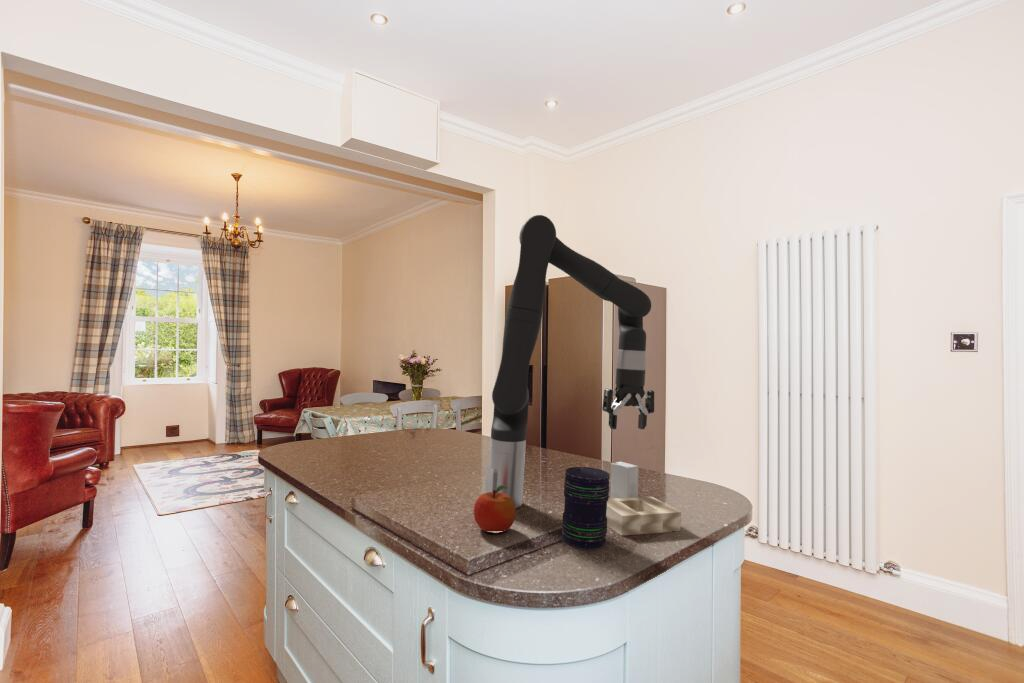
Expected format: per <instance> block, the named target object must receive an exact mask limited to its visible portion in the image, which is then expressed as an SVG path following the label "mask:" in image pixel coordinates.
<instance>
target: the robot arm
mask: <svg viewBox="0 0 1024 683" xmlns="http://www.w3.org/2000/svg"><path fill="white" fill-rule="evenodd" d="M518 239H519V244H520V249H519V258H518V259H519V262H518V267H517V272H516V275H515V279H514V281H513V285H512V287H511V292H510V294H509V297H508V298H509V300H508V302H507V307H506V314H505V319H504V320H505V321H504V327H503V328H504V329H503V339H502V352H501V358H500V364H499V368H498V372H497V376H496V378H495V383H494V387H493V389H492V392H491V398H492V403H493V415H492V416H493V418H492V423H491V428H490V445H489V446H490V447H489V448H490V449H489V462H488V464H487V465H486V475H485V476H486V477H485V493H489V492H493V490H496V487H498V486H500V485H501V486H507V487H508V488H509V489H508V488H504V489H502V490H500V491H499V493H504V494H506V495H508V496H510V497H511V499H512V500H513V501H514V504H515V508H516V509H518V507H519V508H521V507H522V506H523V497H524V496H523V495H524V479H525V478H524V477H525V460H526V456H525V455H526V446H527V443H526V442H527V430H528V429H527V428H528V419H529V418H528V417H529V402H530V392H529V391H530V390H529V388H528V381H529V380H528V379H529V369H530V363H531V358H532V355H533V353H534V350H535V347H536V344H537V340H538V337H539V333H540V329H541V324H542V319H543V312H544V305H545V304H544V303H545V294H546V280H547V272H548V268H549V264H550V265H552V266H553V267H556V268H557V269H559V270H560V271H562V272H564V273H565V274H567V275H568V276H570V277H571V278H572V279H573V280H575V281H577V282H578V283H579V284H580V285H582V286H583V287H584V288H586V289H587V290H589V291H590V292H591V293H593V294H594V295H596V296H597V297H599V298H600V299H602V300H603V301H606V302H610V303H611V304H613V305H615V306H616V307H618V308H617V321H618V329H619V335H618V336H619V337H618V351H617V355H616V356H617V357H616V368H615V369H616V370H615V388H614V389H612V388H611V389H610V388H604V391H603V399H602V400H603V401H602V406H601V407H602V408H601V409H602V411H603V412H605V413H608V427H609V428H610V429H612V430H616V429H617V424H618V415H617V414H618V413H619V411H620V410H621V409H623V408H624V407H630V406H631V407H634V408H636V409H637V411H638V412H639V414H638V420H637V421H638V422H637V428H638V430H639V429H640V430H645V428H646V427H647V421H648V420H647V419H648V415H649V414H653V413H654V412H655V391H654V390H651V389H646V390H645V388H644V387H645V383H646V366H647V356H646V352H647V351H646V347H647V333H646V331H645V329H644V317H646V316H647V315H648V314H650V312H651V309H652V301H651V299H650V297H649V296H648V295H647V294H646V293H645V291H643V290H641V289H640V288H638V287H636V286H634V285H632V284H631V283H629V282H627V281H625V280H622V279H621V278H620V277H618V276H617V275H615V274H614V273H613V272H611V271H610V270H609V269H607V268H606V267H604V266H603V265H602V264H600V263H598V262H596V261H594V260H593V259H591V258H589V257H587V256H584V255H582V254H581V253H579V252H577V251H575V250H573V249H572V248H571V247H569V246H568V245H566V244H565V243H564V242H562V240H560V239H559V238H558V237H557V231H556V226H555V224H554V222H553V221H552V220H551V219H550V218H549V217H547V216H545V215H542V214H536V215H533V216H531V217H529V218H528V219H526V220H525V222H524V223H523V224H522V226H521V228H520V232H519V238H518ZM614 397H615V399H614ZM643 398H644V401H645V402H644V401H643ZM613 399H614V400H613Z"/></svg>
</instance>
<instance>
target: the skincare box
mask: <svg viewBox="0 0 1024 683" xmlns="http://www.w3.org/2000/svg"><path fill="white" fill-rule="evenodd" d="M610 464H611V469H610V470H611V471H610V499H613V498H633V497H639V495H638V494H639V493H638V492H639V465H635V464H632V463H628V462H624V461H617V462H611V463H610Z"/></svg>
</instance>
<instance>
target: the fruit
mask: <svg viewBox="0 0 1024 683" xmlns="http://www.w3.org/2000/svg"><path fill="white" fill-rule="evenodd" d="M504 488H508V487H507V486H501V485H500V486H498V487H496V490H493V492H489V493H481V495H479V496H478V497H477V499H476V500H475V502H474V505H473V517H474V520H475V522H476V523H475V524H477V526H478V527H479V529H481V530H482V531H484V530H485V531H504V530H507V529H508V530H509V529H510V528H511V527H512V526H513V524H514V522H515V520H516V519H515V518H516V513H517V512H516V511H517V510H516V509H517V508H515V504H514V501H513V500H512V499H511V497H510V496H508V495H506V494H504V493H499V491H500V490H502V489H504ZM508 489H509V488H508ZM508 530H507V531H508ZM485 531H484V532H485Z"/></svg>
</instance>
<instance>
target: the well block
mask: <svg viewBox="0 0 1024 683" xmlns="http://www.w3.org/2000/svg"><path fill="white" fill-rule="evenodd" d="M606 517H607V527H608V528H610V529H612V530H613V531H614V532H616V533H617V534H618V535H619V536H633V535H634V536H635V535H644V534H646V535H647V534H657V533H658V534H660V533H661V534H662V533H673V532H672V531H675V532H681V522H682V511H680V510H678V509H676V508H675V507H673V506H671V505H669V504H667V503H665V502H663V501H661V500H660V499H657V498H655V497H653V496H638V497H633V498H613V499H611V498H608V501H607V511H606Z"/></svg>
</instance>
